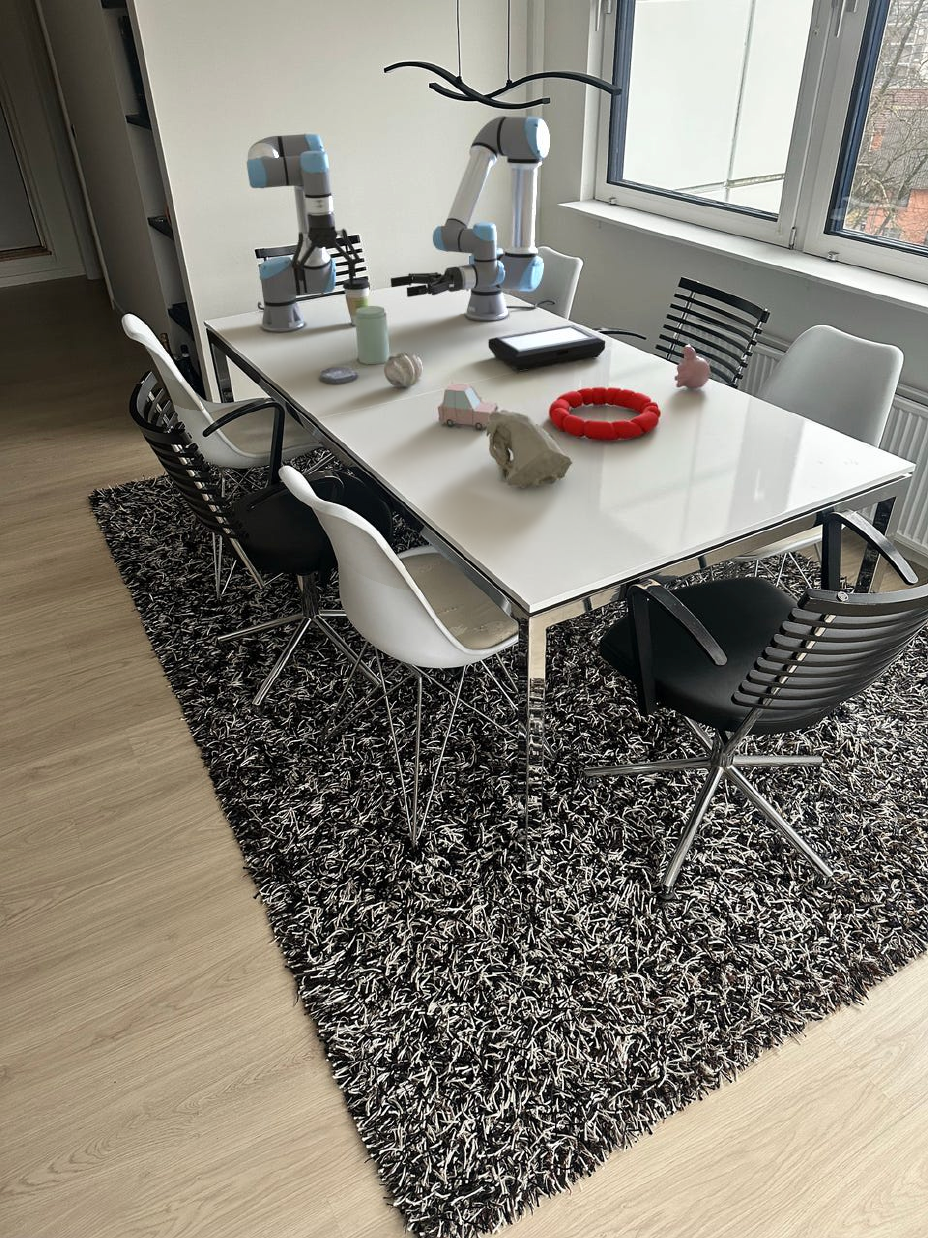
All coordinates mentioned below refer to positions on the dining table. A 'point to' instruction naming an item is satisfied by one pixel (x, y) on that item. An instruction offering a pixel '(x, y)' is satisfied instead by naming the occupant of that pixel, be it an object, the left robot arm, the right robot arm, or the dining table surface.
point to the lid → (338, 375)
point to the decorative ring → (604, 428)
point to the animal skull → (525, 450)
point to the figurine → (692, 370)
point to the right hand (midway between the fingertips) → (399, 287)
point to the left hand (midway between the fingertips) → (328, 289)
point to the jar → (372, 335)
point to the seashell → (403, 369)
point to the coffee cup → (356, 295)
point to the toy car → (465, 406)
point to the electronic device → (546, 347)
